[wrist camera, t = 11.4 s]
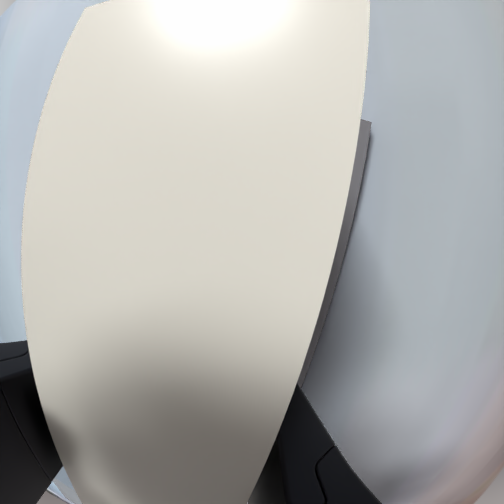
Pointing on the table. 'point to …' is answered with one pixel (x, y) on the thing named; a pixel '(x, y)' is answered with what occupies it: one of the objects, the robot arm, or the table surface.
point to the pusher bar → (186, 235)
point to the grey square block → (66, 486)
